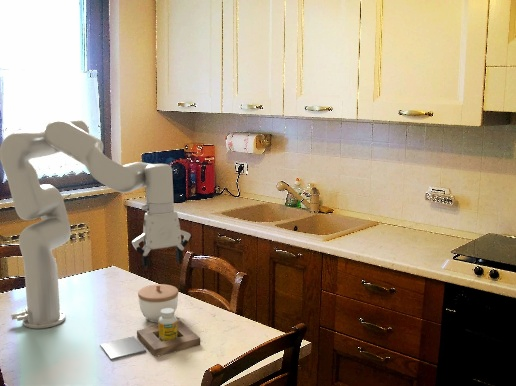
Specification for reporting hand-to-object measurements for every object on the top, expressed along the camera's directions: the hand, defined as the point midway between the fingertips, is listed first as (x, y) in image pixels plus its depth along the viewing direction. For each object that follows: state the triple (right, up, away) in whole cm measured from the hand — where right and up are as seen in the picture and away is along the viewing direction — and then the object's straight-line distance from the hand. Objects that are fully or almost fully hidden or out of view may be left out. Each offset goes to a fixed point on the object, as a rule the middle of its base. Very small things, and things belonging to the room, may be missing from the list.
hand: (163, 265), depth 164 cm
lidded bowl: (-4, -19, +18) cm, 27 cm away
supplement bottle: (+1, -23, +2) cm, 23 cm away
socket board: (+1, -23, +2) cm, 23 cm away
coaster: (-11, -23, -3) cm, 26 cm away
